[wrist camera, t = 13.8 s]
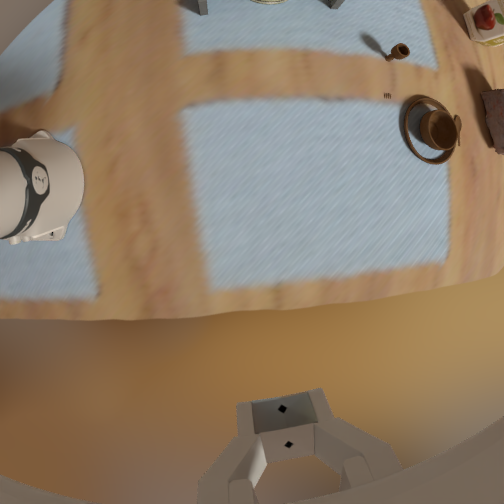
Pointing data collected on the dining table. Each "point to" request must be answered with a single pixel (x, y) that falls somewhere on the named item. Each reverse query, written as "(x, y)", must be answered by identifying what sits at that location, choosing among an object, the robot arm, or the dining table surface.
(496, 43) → the juice carton
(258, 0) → the coffee can
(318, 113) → the dining table surface
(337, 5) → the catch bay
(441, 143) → the place setting
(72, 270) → the dining table surface
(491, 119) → the food item
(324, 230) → the dining table surface
